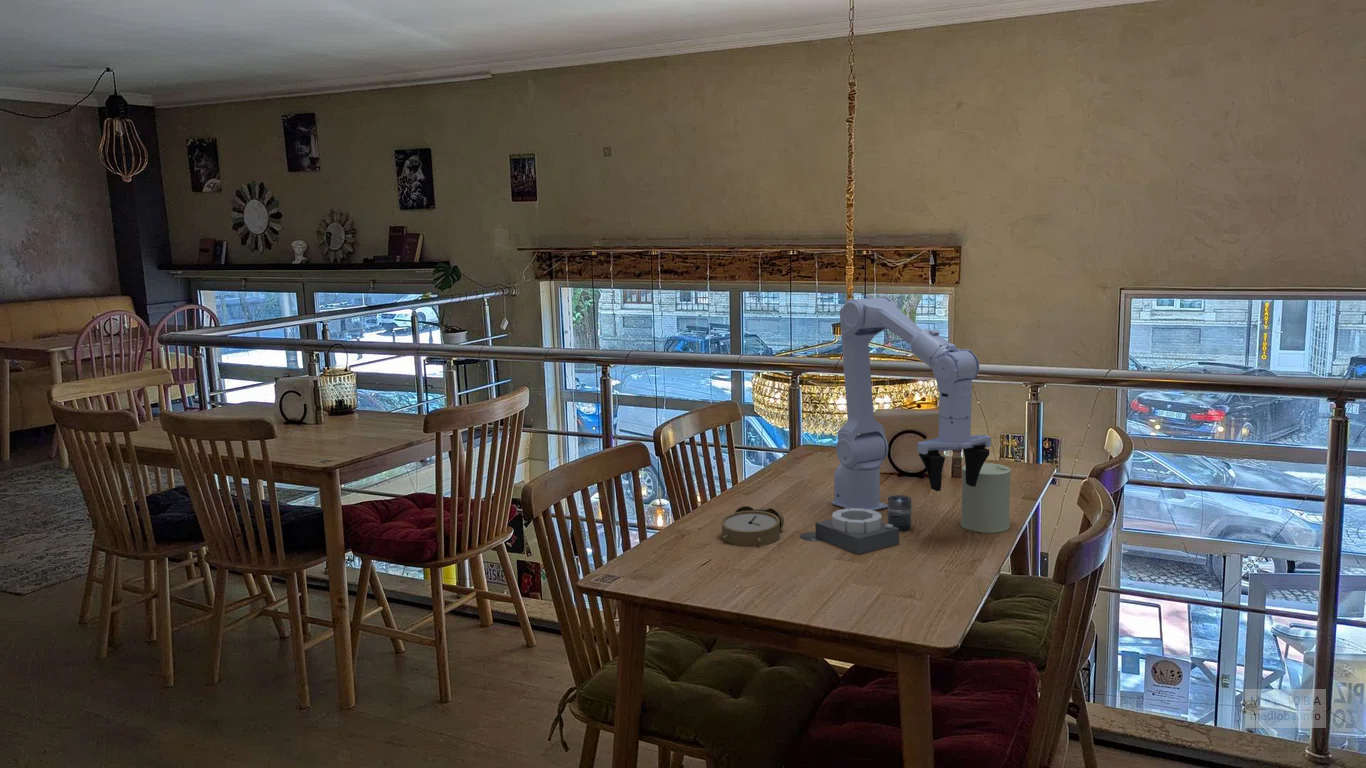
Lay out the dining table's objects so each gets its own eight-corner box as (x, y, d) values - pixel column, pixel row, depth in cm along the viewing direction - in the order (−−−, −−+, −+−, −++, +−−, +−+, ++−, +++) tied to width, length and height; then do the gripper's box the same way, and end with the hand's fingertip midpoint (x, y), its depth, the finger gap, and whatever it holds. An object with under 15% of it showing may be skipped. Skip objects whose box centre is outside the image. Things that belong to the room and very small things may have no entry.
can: (1012, 534, 184) (1014, 472, 182) (962, 532, 186) (963, 471, 184) (1006, 519, 193) (1008, 460, 191) (958, 518, 195) (959, 459, 193)
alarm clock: (712, 529, 183) (737, 495, 196) (714, 553, 184) (739, 517, 197) (769, 535, 178) (791, 500, 192) (771, 559, 180) (792, 522, 193)
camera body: (815, 537, 185) (815, 512, 184) (855, 528, 190) (855, 503, 189) (858, 554, 175) (858, 527, 174) (899, 543, 180) (899, 517, 179)
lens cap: (793, 539, 187) (793, 535, 186) (814, 534, 189) (814, 530, 189) (811, 546, 182) (811, 542, 182) (832, 541, 185) (832, 537, 185)
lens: (882, 527, 190) (882, 496, 189) (899, 522, 193) (899, 492, 192) (899, 533, 186) (899, 502, 185) (916, 528, 189) (916, 498, 188)
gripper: (933, 423, 172) (931, 497, 175) (1001, 416, 177) (999, 488, 179) (911, 416, 179) (910, 487, 181) (978, 409, 184) (976, 479, 186)
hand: (953, 487), depth 181 cm, fingers open, 7 cm apart
